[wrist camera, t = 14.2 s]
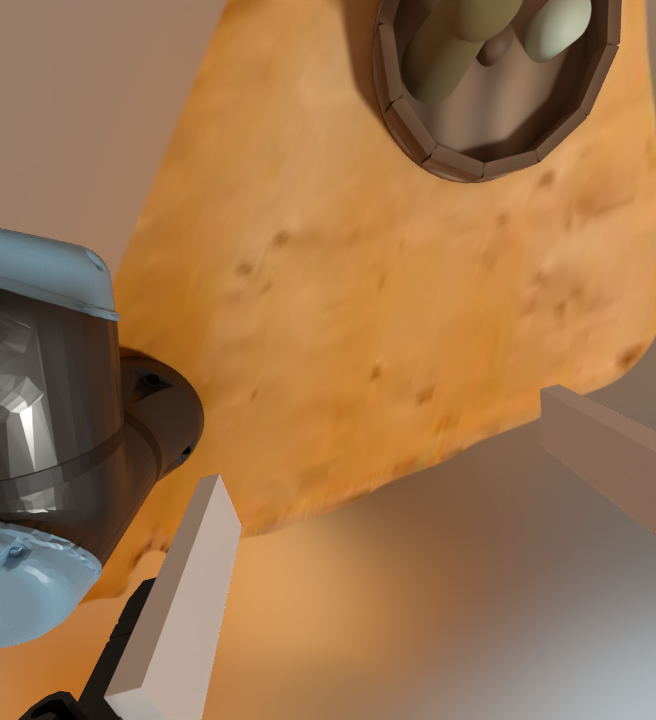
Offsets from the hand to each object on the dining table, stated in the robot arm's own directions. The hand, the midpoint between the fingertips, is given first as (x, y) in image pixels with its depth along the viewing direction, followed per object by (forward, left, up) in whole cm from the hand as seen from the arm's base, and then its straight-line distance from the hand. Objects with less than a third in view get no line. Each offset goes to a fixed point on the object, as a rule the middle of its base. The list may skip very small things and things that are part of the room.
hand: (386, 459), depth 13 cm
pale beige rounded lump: (+27, +22, -26) cm, 43 cm away
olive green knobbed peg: (+16, +22, -26) cm, 37 cm away
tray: (+21, +22, -27) cm, 40 cm away
